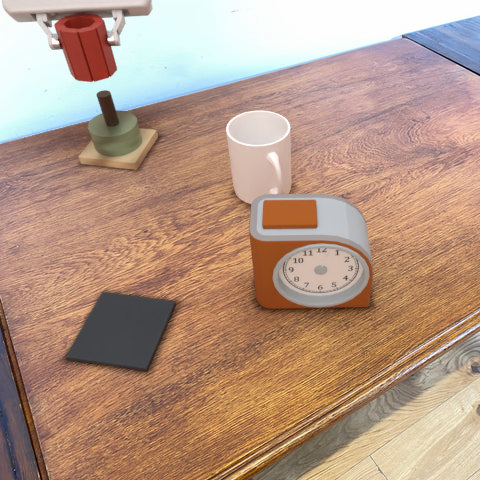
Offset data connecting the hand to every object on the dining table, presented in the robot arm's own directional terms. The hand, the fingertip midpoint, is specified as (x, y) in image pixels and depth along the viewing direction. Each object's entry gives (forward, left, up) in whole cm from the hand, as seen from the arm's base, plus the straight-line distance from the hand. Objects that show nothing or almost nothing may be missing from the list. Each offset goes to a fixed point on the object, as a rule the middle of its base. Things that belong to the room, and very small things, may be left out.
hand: (86, 46), depth 75 cm
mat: (+15, -34, -20) cm, 42 cm away
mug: (+27, -5, -20) cm, 34 cm away
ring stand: (-1, +2, -20) cm, 20 cm away
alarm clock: (+37, -23, -20) cm, 48 cm away
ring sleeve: (0, +1, -4) cm, 4 cm away
